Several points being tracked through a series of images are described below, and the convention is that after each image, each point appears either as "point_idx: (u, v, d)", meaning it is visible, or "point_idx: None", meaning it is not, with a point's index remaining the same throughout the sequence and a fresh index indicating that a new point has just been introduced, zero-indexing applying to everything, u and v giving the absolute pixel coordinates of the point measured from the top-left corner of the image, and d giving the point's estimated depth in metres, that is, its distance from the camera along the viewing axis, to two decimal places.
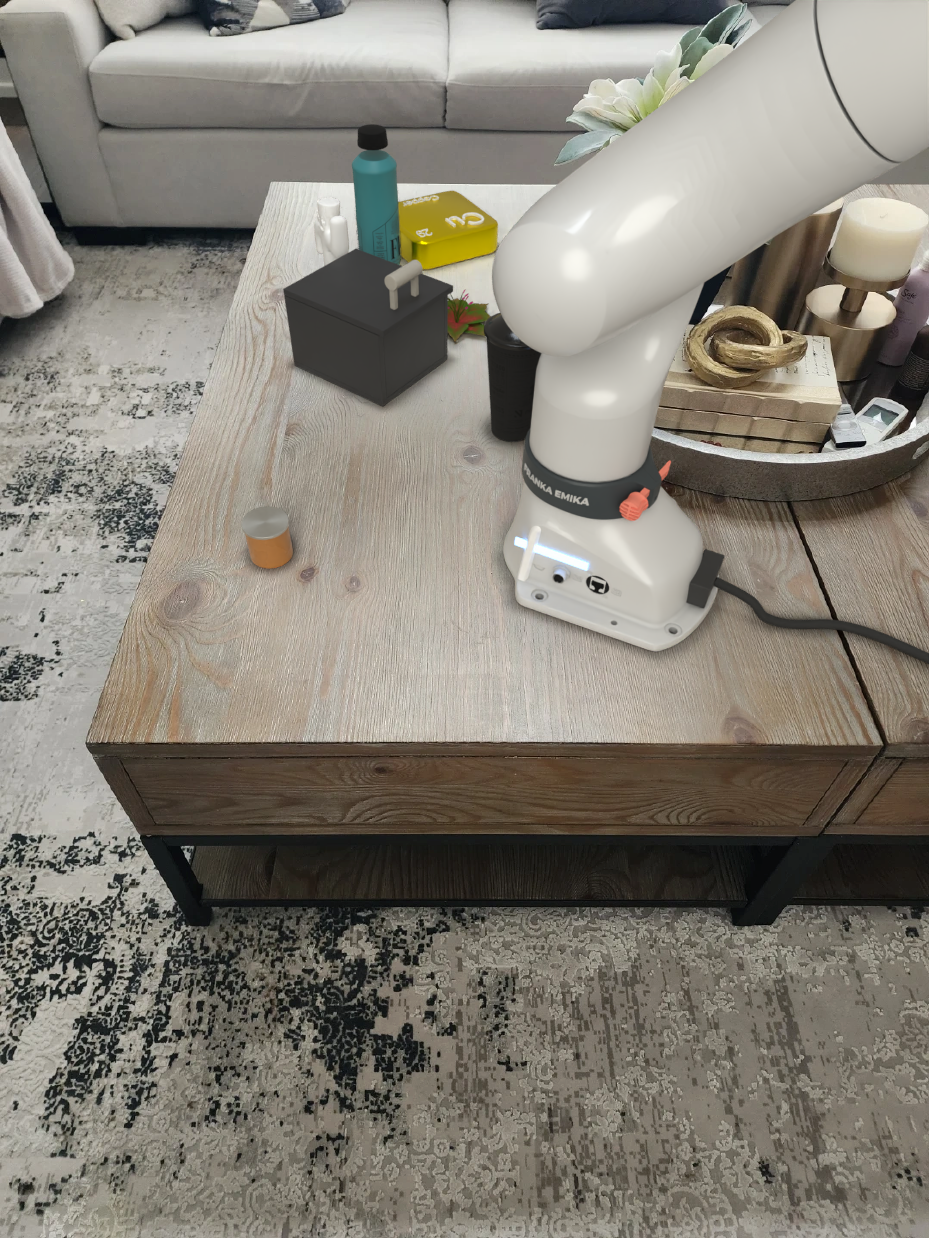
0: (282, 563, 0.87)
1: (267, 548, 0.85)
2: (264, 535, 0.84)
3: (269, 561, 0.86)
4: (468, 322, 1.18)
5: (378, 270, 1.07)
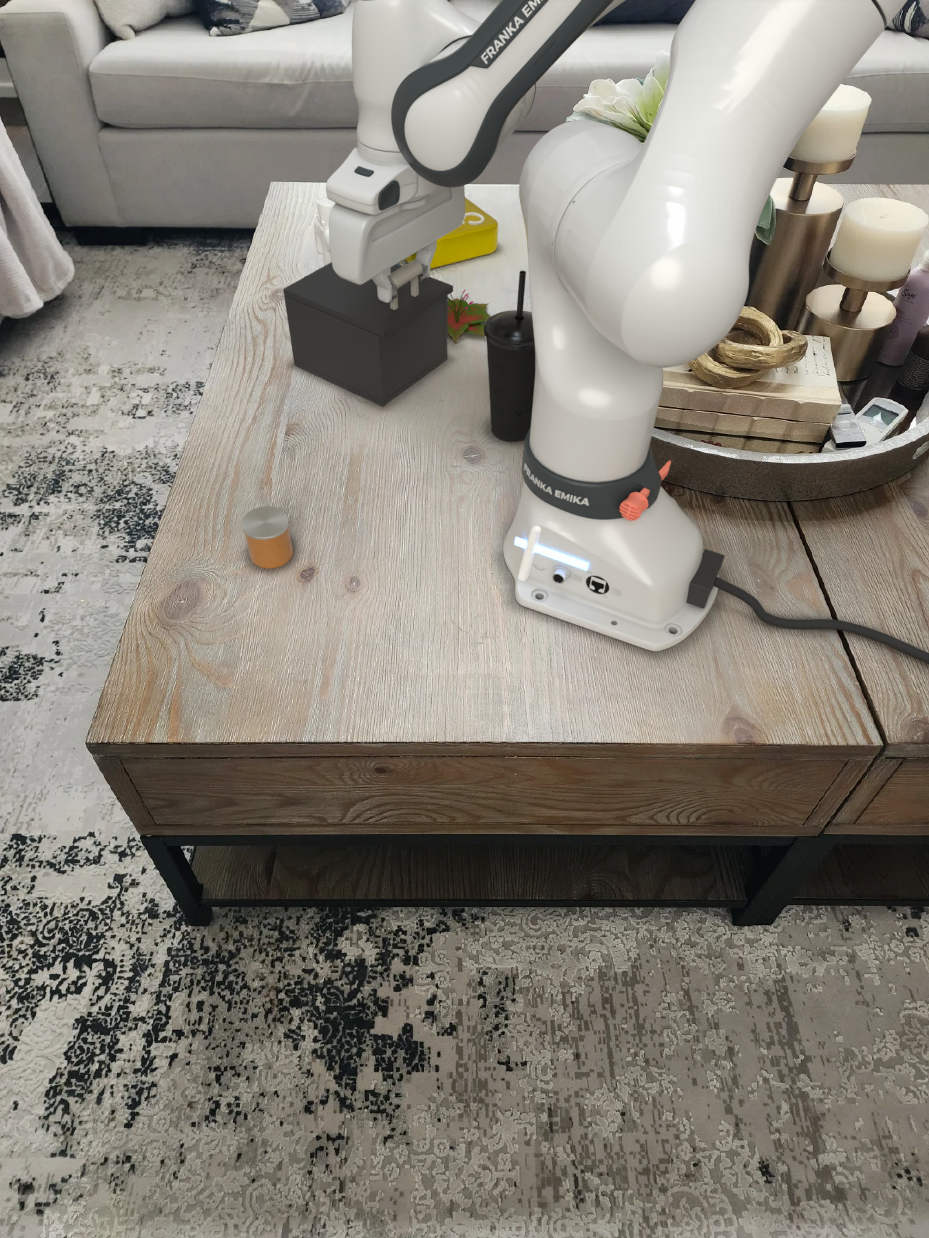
0: (282, 563, 0.87)
1: (267, 548, 0.85)
2: (264, 535, 0.84)
3: (269, 561, 0.86)
4: (468, 322, 1.18)
5: None
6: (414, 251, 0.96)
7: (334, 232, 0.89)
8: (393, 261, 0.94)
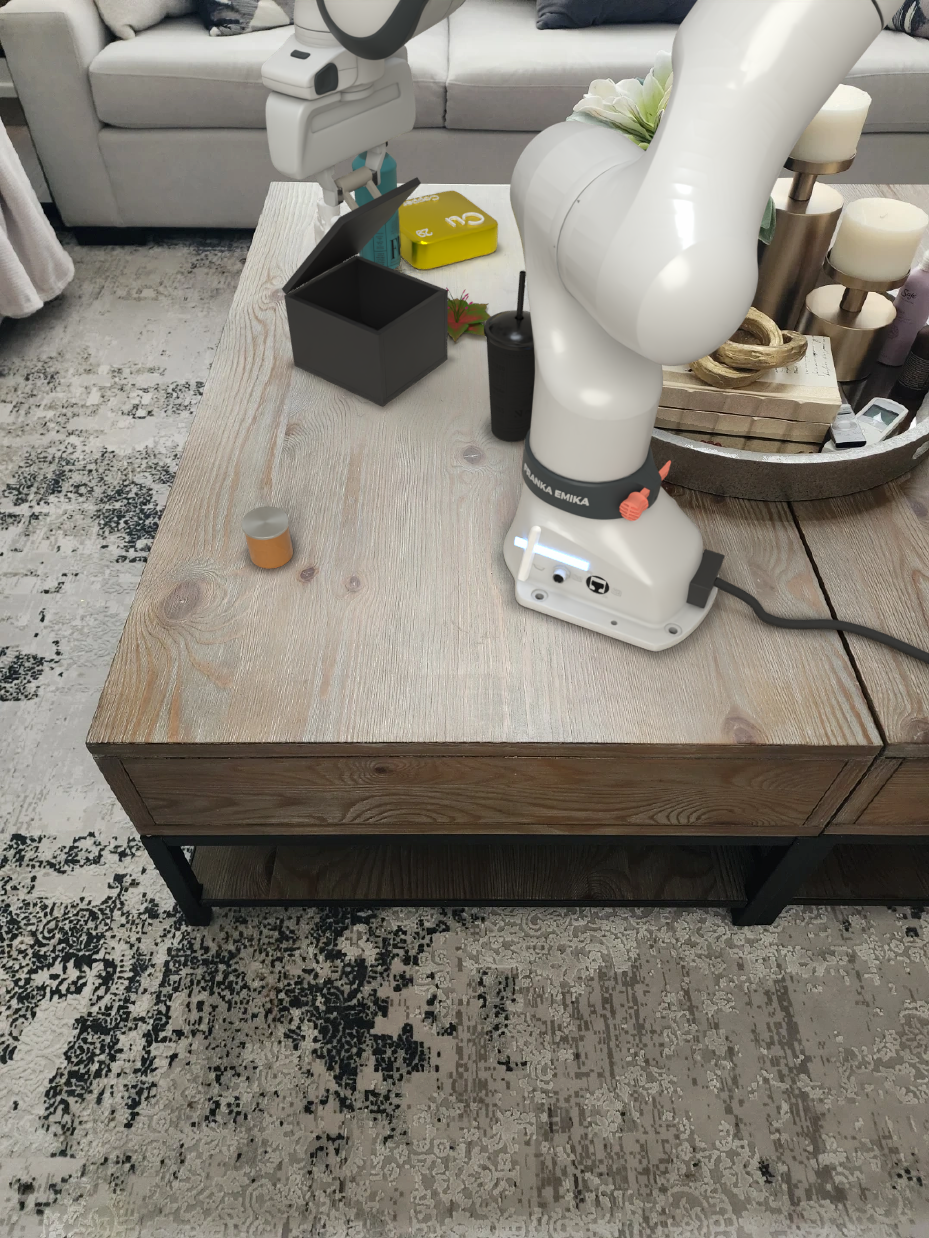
0: (282, 563, 0.87)
1: (267, 548, 0.85)
2: (264, 535, 0.84)
3: (269, 561, 0.86)
4: (468, 322, 1.18)
5: None
6: (360, 151, 0.92)
7: (271, 122, 0.85)
8: (337, 159, 0.90)
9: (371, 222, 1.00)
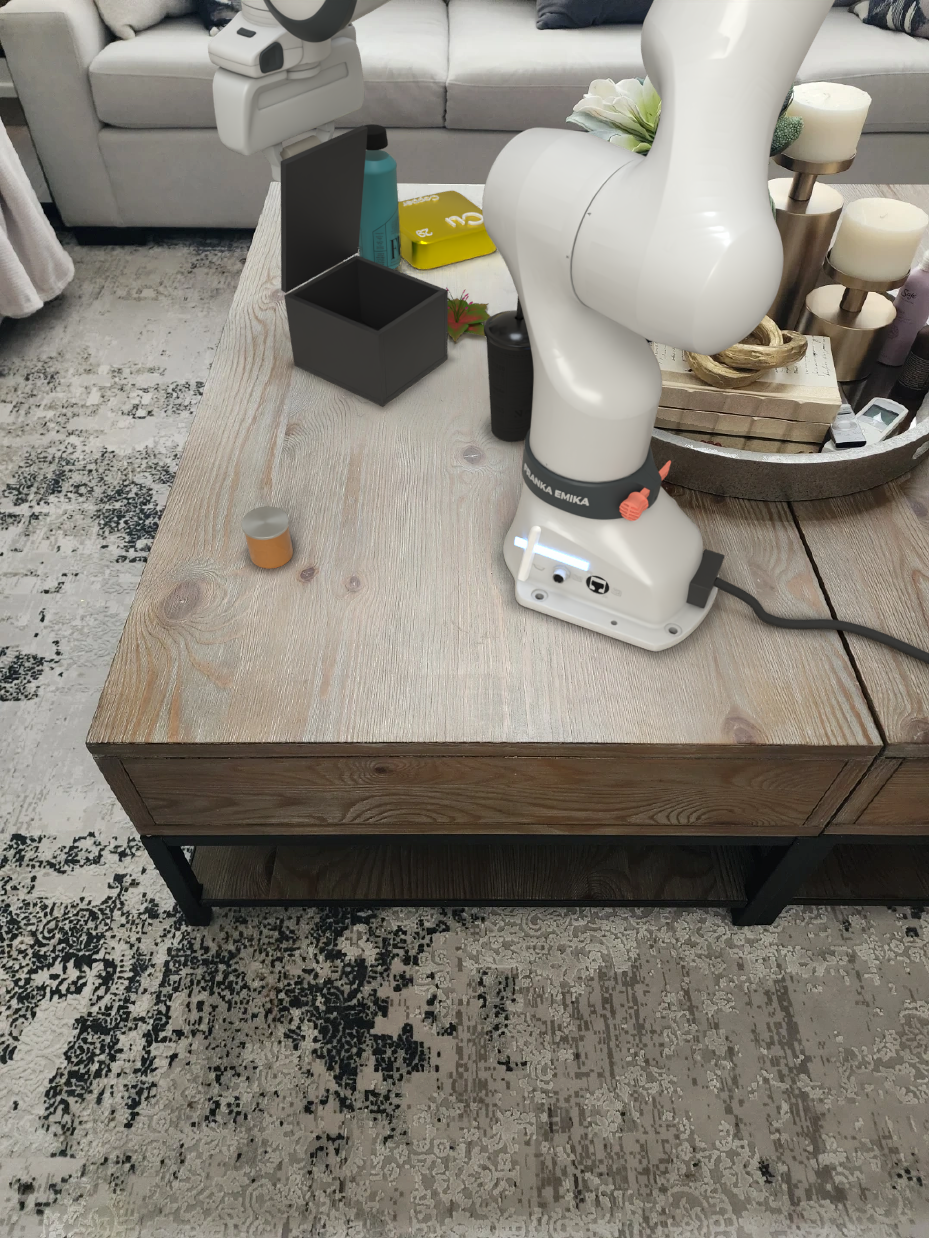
0: (282, 563, 0.87)
1: (267, 548, 0.85)
2: (264, 535, 0.84)
3: (269, 561, 0.86)
4: (468, 322, 1.18)
5: None
6: (308, 128, 0.95)
7: (218, 98, 0.87)
8: (284, 135, 0.92)
9: (335, 184, 0.99)
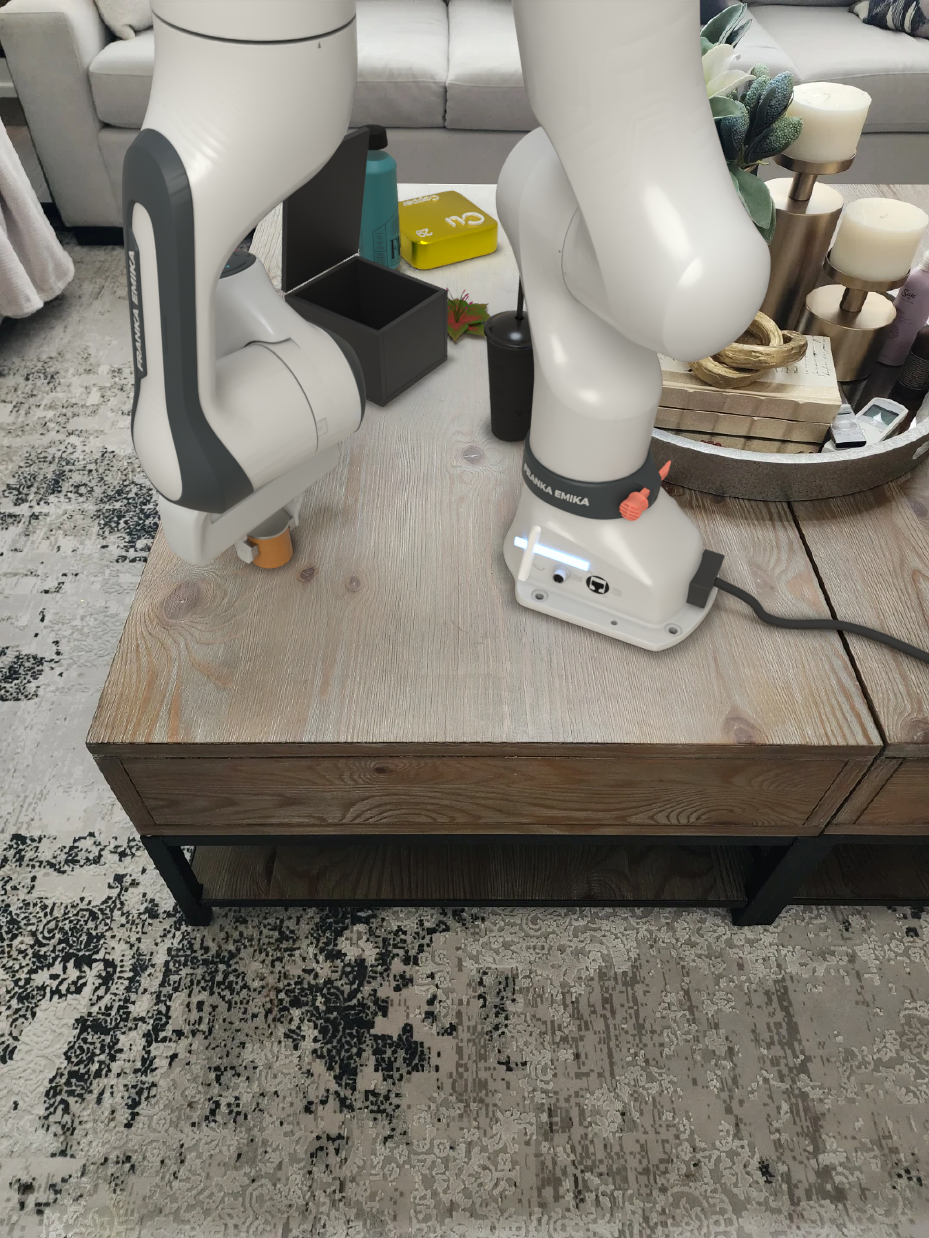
0: (282, 563, 0.87)
1: (266, 548, 0.85)
2: (264, 535, 0.84)
3: (269, 561, 0.86)
4: (468, 322, 1.18)
5: None
6: (273, 512, 0.83)
7: (164, 516, 0.75)
8: (245, 531, 0.80)
9: (336, 185, 0.99)
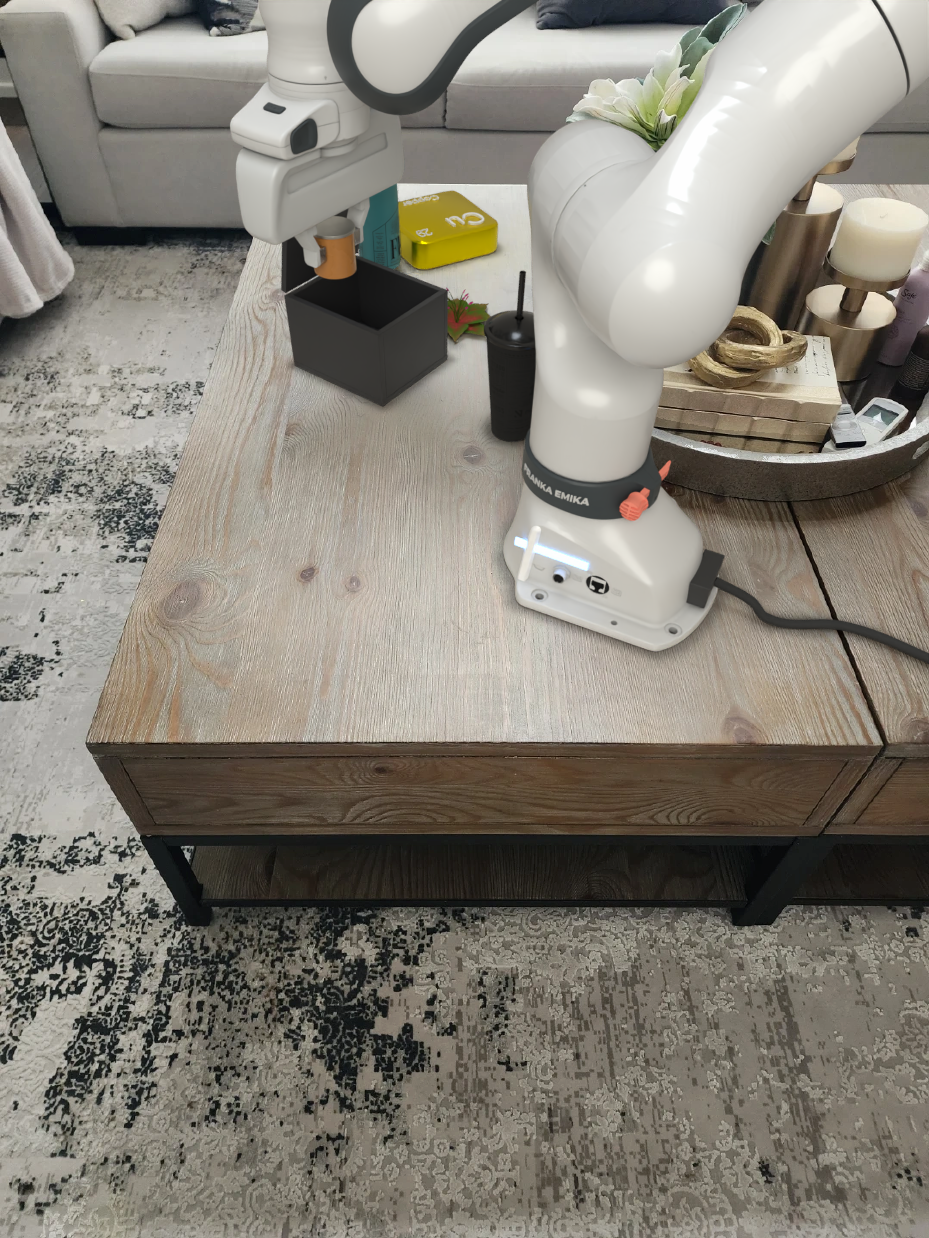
0: (347, 274, 0.88)
1: (333, 251, 0.85)
2: (332, 235, 0.84)
3: (335, 269, 0.87)
4: (468, 322, 1.18)
5: None
6: (343, 208, 0.83)
7: (242, 182, 0.75)
8: (316, 219, 0.81)
9: None
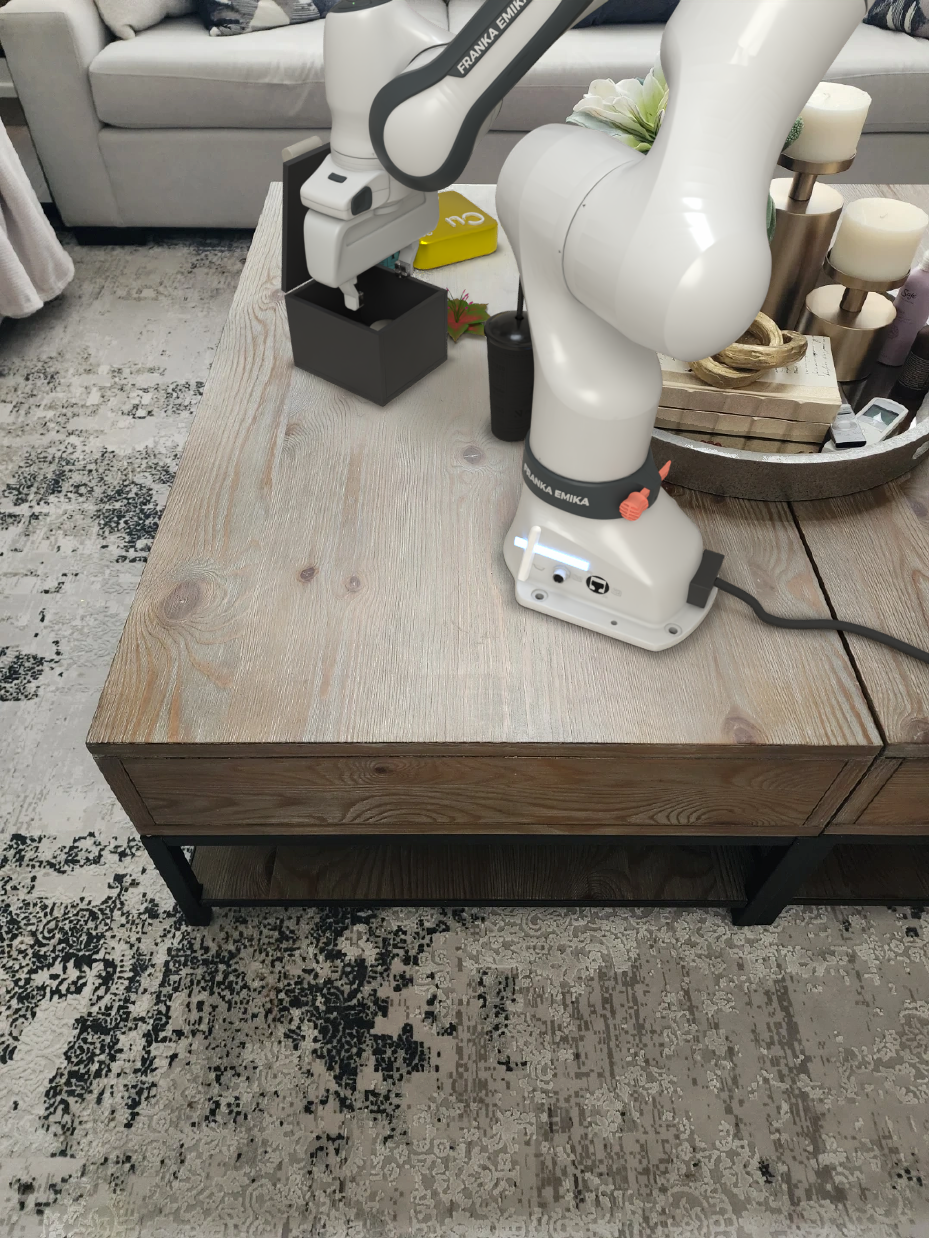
0: None
1: None
2: None
3: None
4: (468, 322, 1.18)
5: None
6: (389, 254, 0.99)
7: (309, 237, 0.91)
8: (368, 265, 0.96)
9: None
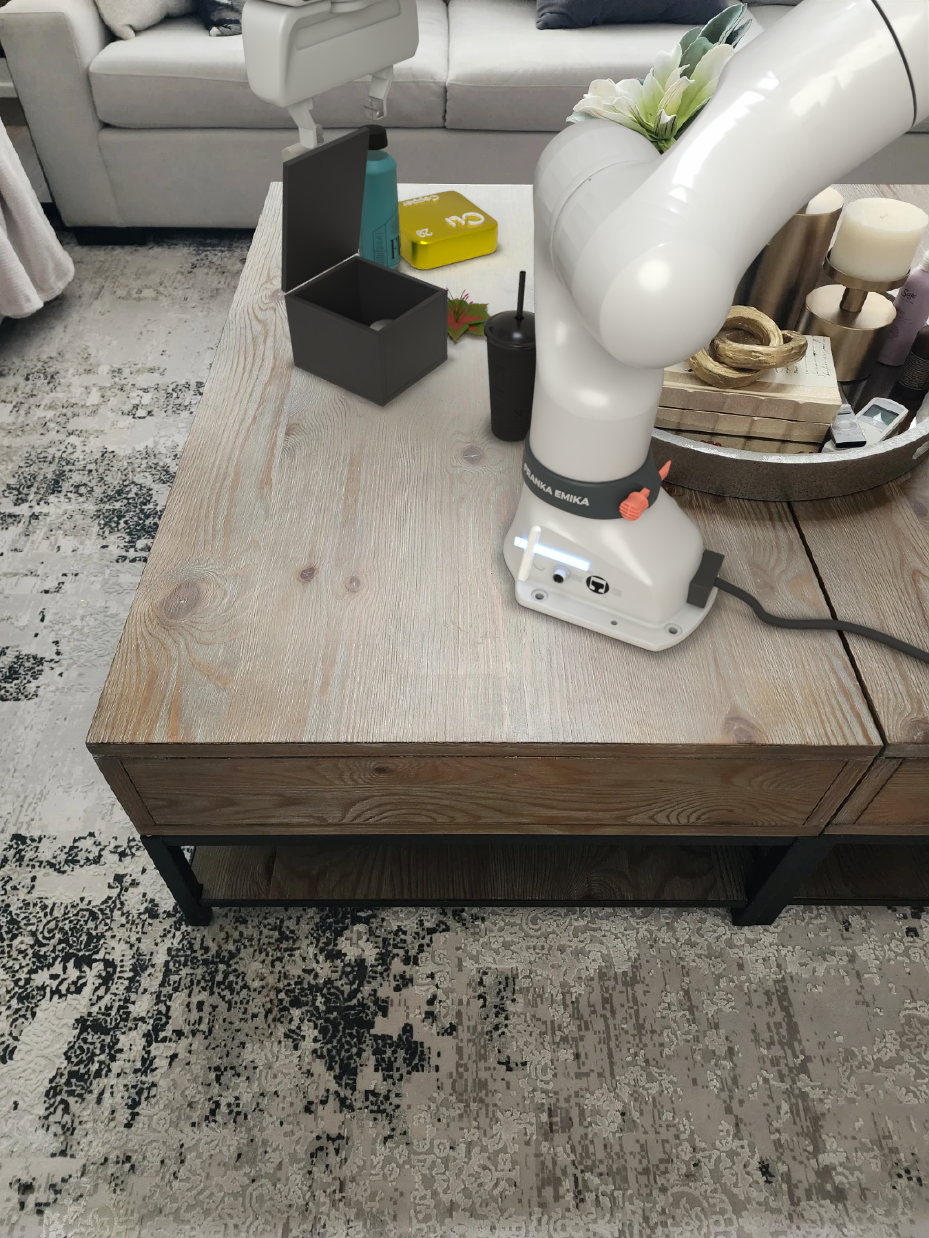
0: None
1: None
2: None
3: None
4: (468, 322, 1.18)
5: None
6: (354, 77, 0.79)
7: (248, 35, 0.71)
8: (326, 84, 0.77)
9: (336, 185, 0.99)
